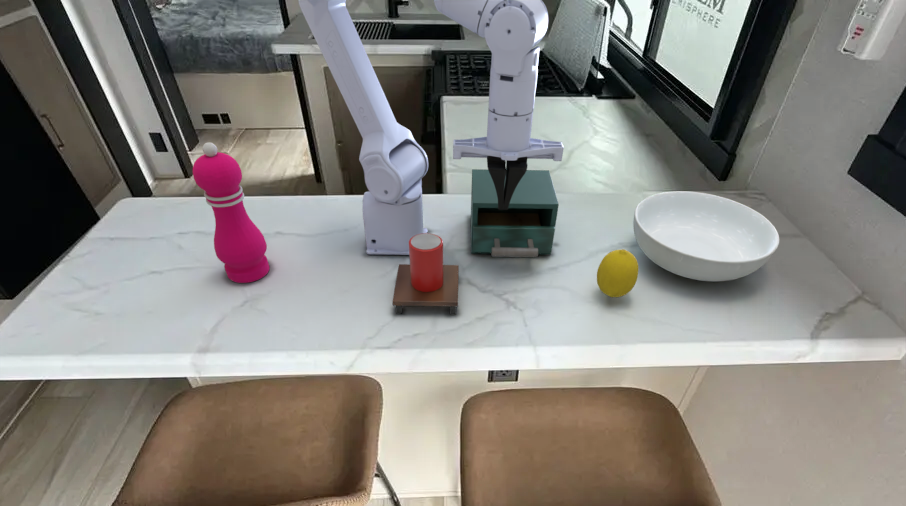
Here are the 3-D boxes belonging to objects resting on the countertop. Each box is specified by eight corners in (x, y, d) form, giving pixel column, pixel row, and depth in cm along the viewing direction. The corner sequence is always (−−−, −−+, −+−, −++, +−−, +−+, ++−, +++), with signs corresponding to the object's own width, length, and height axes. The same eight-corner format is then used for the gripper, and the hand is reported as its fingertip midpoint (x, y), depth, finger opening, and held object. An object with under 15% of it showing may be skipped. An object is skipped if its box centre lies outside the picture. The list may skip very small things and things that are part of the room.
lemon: (632, 289, 76) (645, 243, 71) (628, 311, 72) (643, 264, 67) (594, 282, 78) (605, 236, 72) (589, 303, 74) (600, 256, 68)
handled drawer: (472, 266, 79) (473, 241, 76) (472, 215, 91) (472, 192, 88) (554, 267, 79) (558, 242, 76) (543, 216, 90) (546, 193, 88)
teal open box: (471, 253, 83) (472, 203, 77) (470, 217, 92) (472, 169, 86) (550, 254, 83) (558, 204, 77) (542, 218, 92) (549, 170, 86)
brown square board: (393, 315, 72) (392, 301, 70) (399, 277, 78) (398, 264, 77) (457, 316, 71) (458, 302, 70) (458, 278, 78) (458, 264, 76)
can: (409, 291, 71) (407, 250, 67) (412, 272, 75) (410, 232, 70) (442, 292, 71) (442, 250, 67) (443, 273, 75) (443, 232, 70)
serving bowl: (664, 308, 73) (679, 268, 69) (604, 233, 88) (612, 196, 84) (791, 290, 76) (813, 251, 72) (712, 221, 92) (726, 185, 87)
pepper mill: (282, 265, 80) (249, 138, 67) (250, 290, 75) (208, 158, 62) (246, 254, 83) (207, 128, 69) (213, 278, 78) (164, 147, 64)
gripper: (452, 118, 62) (452, 219, 71) (573, 121, 62) (556, 221, 71) (454, 99, 67) (453, 195, 76) (564, 101, 67) (550, 197, 76)
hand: (502, 206), depth 74 cm, fingers closed
